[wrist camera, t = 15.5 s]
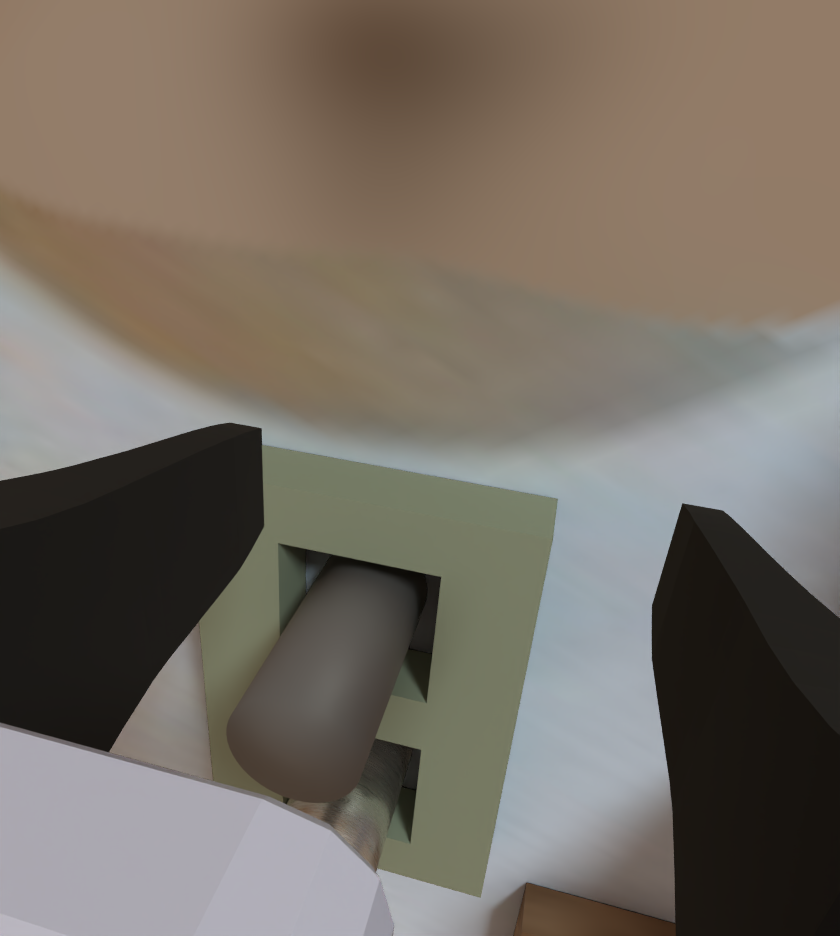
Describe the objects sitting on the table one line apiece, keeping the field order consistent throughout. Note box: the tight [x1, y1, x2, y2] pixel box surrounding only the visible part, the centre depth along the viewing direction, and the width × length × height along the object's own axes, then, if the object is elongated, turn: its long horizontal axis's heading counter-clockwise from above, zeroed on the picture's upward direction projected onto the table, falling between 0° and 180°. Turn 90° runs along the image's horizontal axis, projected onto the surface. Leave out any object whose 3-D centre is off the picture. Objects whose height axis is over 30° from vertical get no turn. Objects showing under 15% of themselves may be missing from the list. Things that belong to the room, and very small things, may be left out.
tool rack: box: [199, 445, 558, 898], centre depth 25 cm, size 12×18×8 cm, turn 174°
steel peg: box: [287, 738, 412, 871], centre depth 27 cm, size 4×4×8 cm
